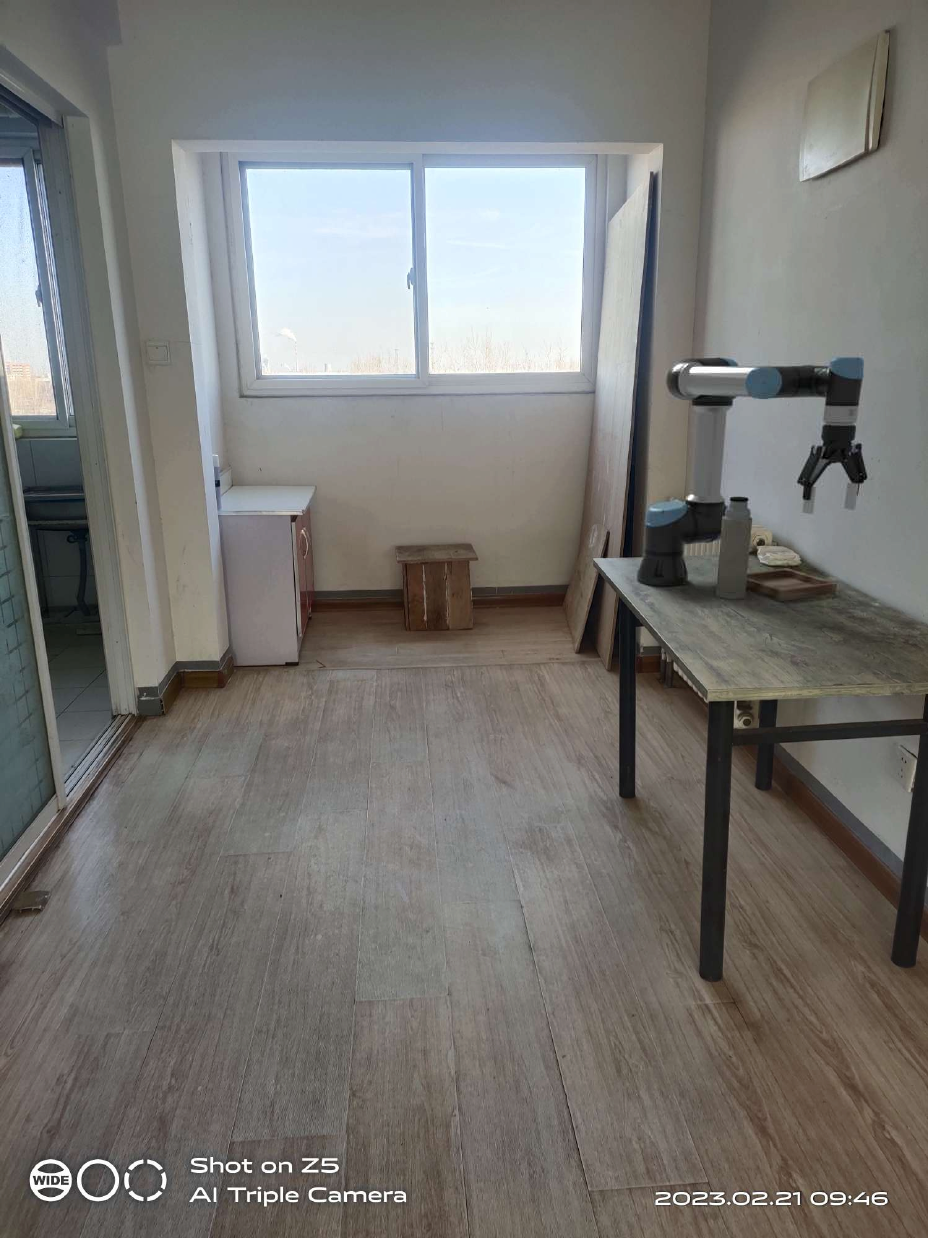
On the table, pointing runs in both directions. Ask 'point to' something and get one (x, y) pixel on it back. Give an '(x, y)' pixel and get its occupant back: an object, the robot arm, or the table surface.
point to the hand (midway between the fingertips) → (828, 511)
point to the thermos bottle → (734, 549)
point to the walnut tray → (788, 585)
